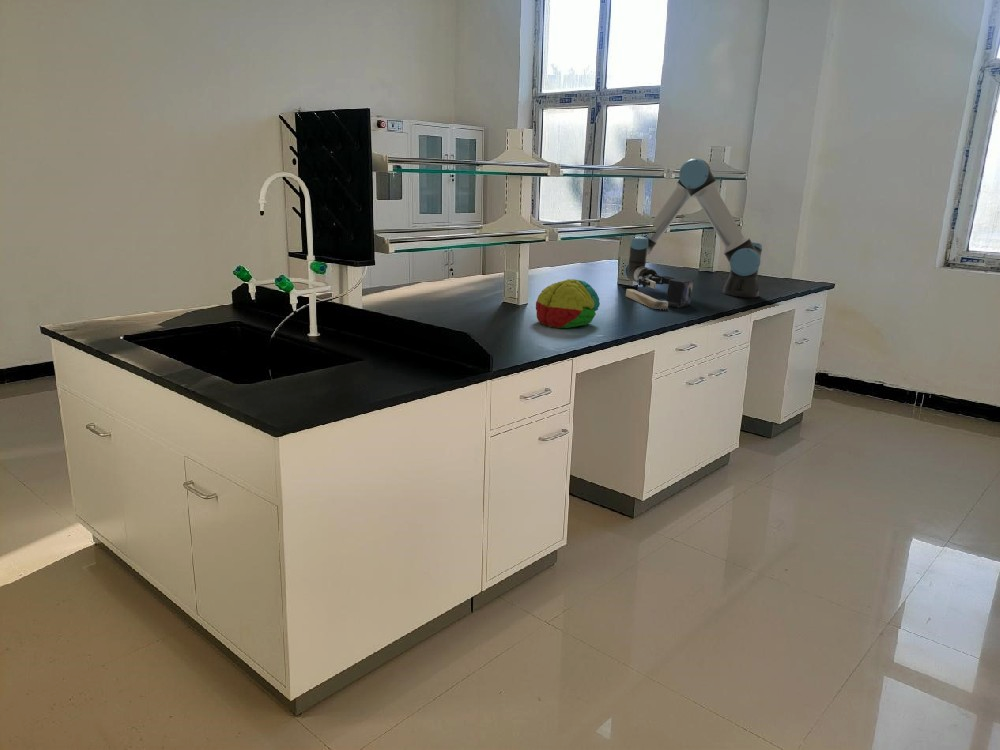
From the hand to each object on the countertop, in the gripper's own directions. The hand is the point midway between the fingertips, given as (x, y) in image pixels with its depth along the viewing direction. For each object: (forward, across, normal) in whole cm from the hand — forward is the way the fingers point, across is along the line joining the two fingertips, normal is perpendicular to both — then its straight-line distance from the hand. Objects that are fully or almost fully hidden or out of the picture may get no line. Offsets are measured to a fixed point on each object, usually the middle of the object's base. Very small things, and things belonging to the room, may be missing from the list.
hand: (669, 285), depth 292 cm
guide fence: (+3, +12, -6) cm, 14 cm away
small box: (+8, 0, -7) cm, 11 cm away
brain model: (+37, +58, -7) cm, 69 cm away
